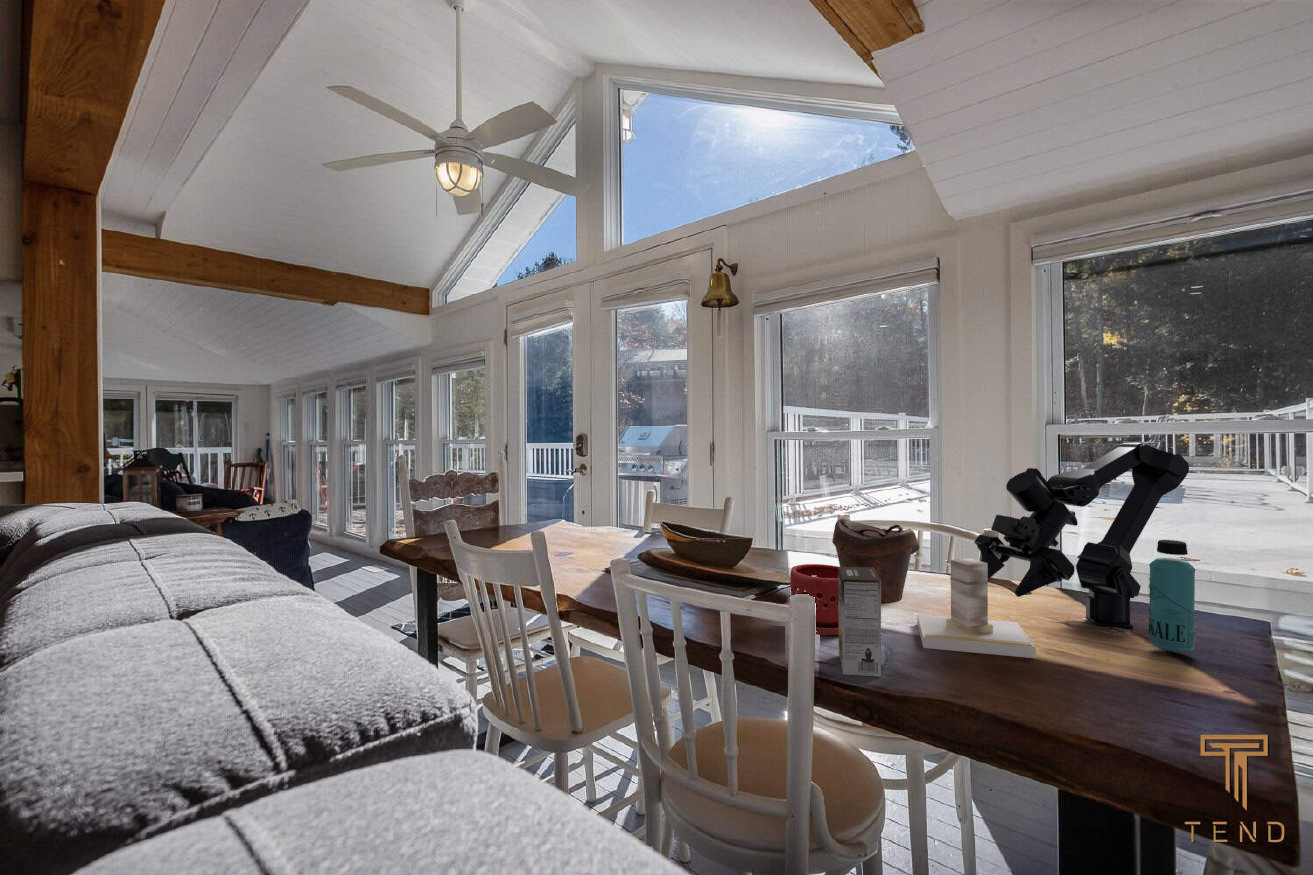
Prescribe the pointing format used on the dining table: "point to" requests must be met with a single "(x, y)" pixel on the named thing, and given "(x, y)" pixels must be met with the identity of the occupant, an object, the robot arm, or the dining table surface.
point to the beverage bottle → (1172, 599)
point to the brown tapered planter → (877, 553)
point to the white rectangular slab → (975, 638)
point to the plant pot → (819, 593)
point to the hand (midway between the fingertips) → (996, 588)
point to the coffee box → (859, 621)
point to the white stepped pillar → (969, 597)
